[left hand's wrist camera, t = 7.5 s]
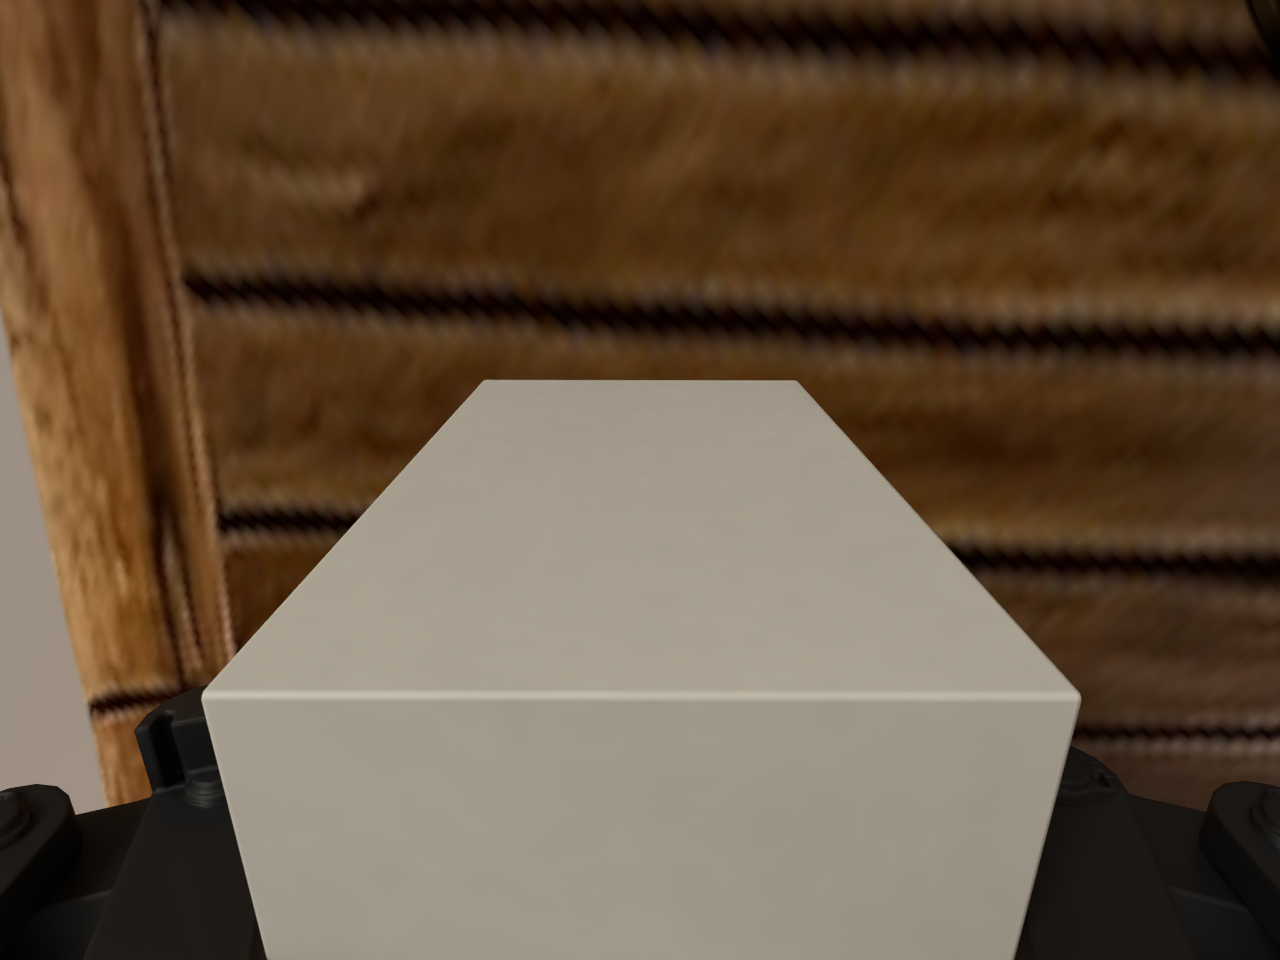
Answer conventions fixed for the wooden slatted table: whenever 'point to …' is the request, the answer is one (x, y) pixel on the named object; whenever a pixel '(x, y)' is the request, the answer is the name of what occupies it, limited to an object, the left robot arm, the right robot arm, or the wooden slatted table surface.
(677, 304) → the wooden slatted table surface
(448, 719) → the bar
